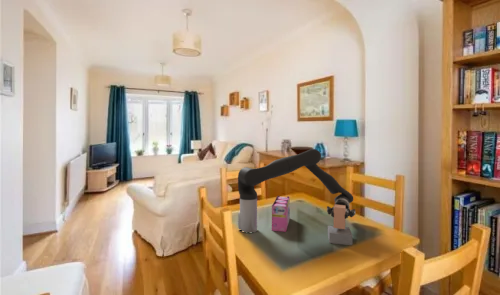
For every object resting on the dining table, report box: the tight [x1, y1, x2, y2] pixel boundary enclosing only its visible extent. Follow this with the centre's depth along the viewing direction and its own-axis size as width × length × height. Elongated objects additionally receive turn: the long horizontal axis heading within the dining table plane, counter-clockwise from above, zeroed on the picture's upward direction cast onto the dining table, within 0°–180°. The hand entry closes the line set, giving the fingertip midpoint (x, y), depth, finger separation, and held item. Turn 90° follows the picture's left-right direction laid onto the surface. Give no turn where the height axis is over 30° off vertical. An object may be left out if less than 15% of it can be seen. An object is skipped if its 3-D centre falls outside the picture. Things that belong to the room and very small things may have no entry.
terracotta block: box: [333, 203, 346, 229], centre depth 118 cm, size 5×5×10 cm
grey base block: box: [327, 225, 353, 246], centre depth 118 cm, size 10×10×5 cm
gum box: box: [271, 195, 291, 233], centre depth 140 cm, size 24×8×14 cm, turn 166°
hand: (339, 215), depth 116 cm, fingers closed on terracotta block, 5 cm apart
